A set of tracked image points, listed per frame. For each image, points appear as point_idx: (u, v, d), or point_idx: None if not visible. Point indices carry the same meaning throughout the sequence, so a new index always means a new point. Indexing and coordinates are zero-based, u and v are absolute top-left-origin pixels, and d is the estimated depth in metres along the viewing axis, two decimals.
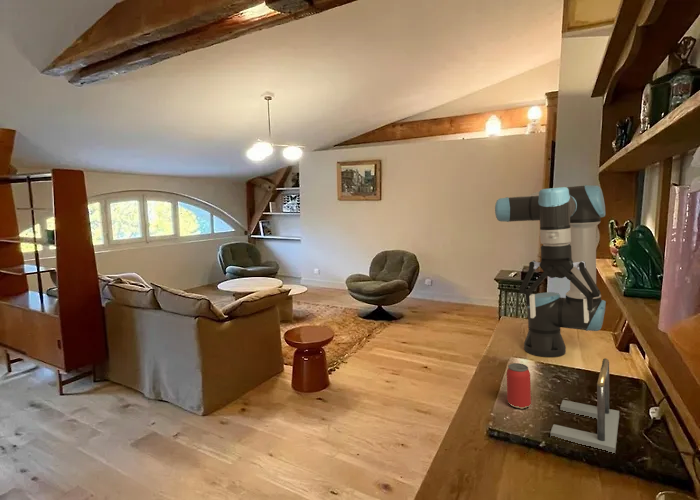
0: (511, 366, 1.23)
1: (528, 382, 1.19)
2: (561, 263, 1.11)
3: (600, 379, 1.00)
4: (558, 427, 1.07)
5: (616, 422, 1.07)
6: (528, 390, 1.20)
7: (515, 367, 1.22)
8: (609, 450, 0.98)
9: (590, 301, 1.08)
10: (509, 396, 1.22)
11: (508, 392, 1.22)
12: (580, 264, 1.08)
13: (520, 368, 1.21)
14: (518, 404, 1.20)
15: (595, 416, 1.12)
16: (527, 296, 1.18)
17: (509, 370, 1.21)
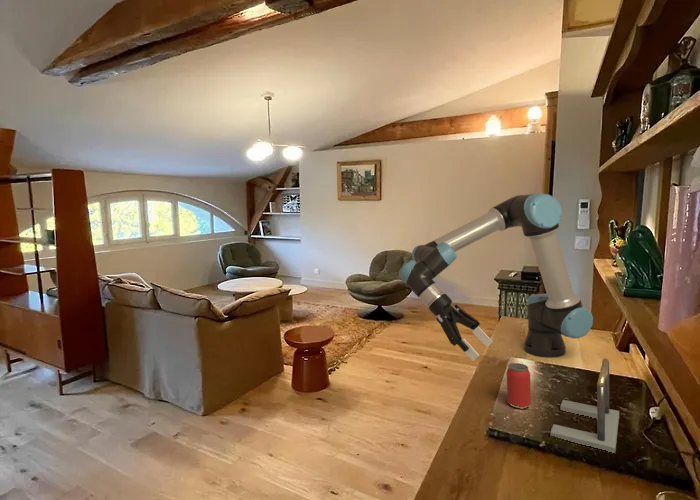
0: (511, 366, 1.23)
1: (528, 382, 1.19)
2: None
3: (600, 379, 1.00)
4: (558, 427, 1.07)
5: (616, 422, 1.07)
6: (528, 390, 1.20)
7: (515, 367, 1.22)
8: (609, 450, 0.98)
9: None
10: (509, 396, 1.22)
11: (508, 392, 1.22)
12: None
13: (520, 368, 1.21)
14: (518, 404, 1.20)
15: (595, 416, 1.12)
16: None
17: (509, 370, 1.21)
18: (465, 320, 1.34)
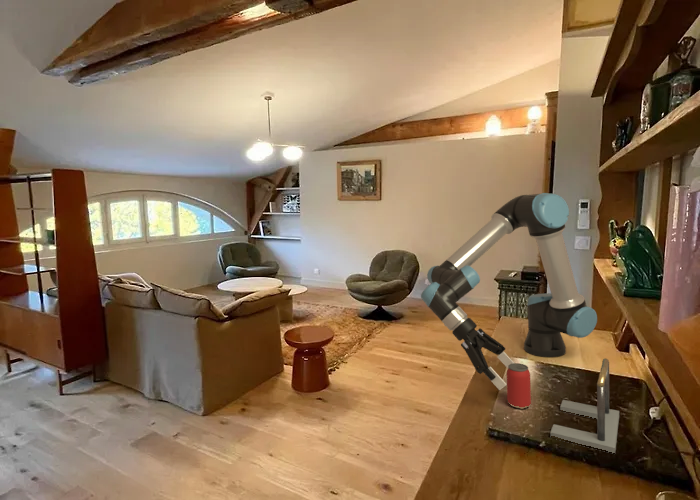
0: (511, 366, 1.23)
1: (528, 382, 1.19)
2: None
3: (600, 379, 1.00)
4: (558, 427, 1.07)
5: (616, 422, 1.07)
6: (528, 390, 1.20)
7: (515, 367, 1.22)
8: (609, 450, 0.98)
9: None
10: (509, 396, 1.22)
11: (508, 392, 1.22)
12: None
13: (520, 368, 1.21)
14: (518, 404, 1.20)
15: (595, 416, 1.12)
16: None
17: (509, 370, 1.21)
18: (490, 345, 1.29)
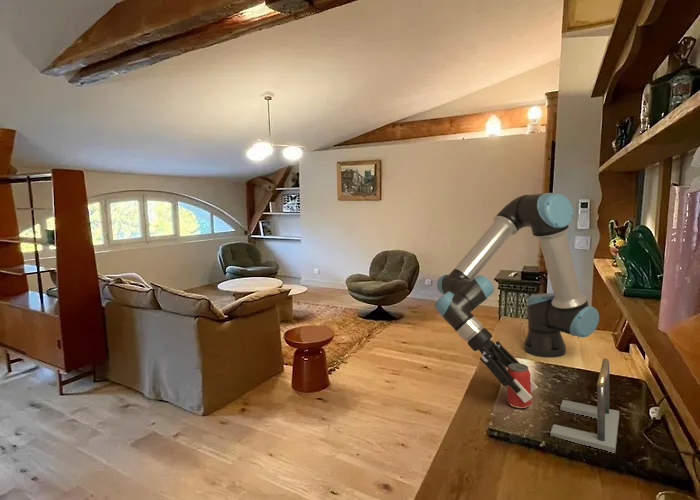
0: (511, 366, 1.23)
1: (528, 382, 1.19)
2: None
3: (600, 379, 1.00)
4: (558, 427, 1.07)
5: (616, 422, 1.07)
6: (528, 390, 1.20)
7: (515, 367, 1.22)
8: (609, 450, 0.98)
9: None
10: (509, 396, 1.22)
11: (508, 392, 1.22)
12: None
13: (520, 368, 1.21)
14: (518, 404, 1.20)
15: (595, 416, 1.12)
16: None
17: (509, 370, 1.21)
18: (506, 359, 1.26)
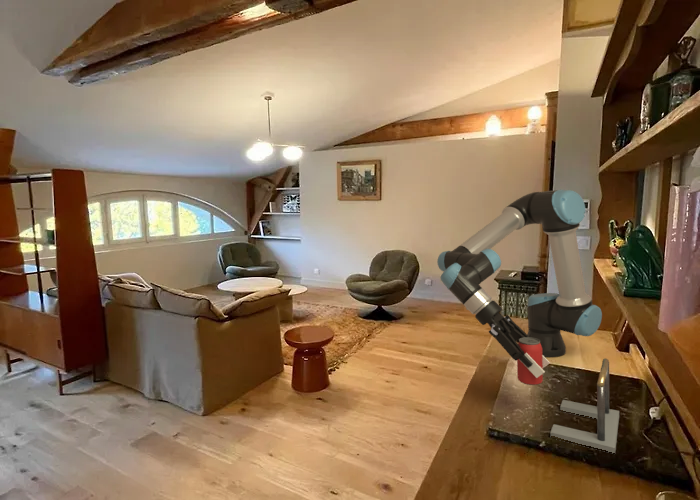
0: (522, 340, 1.16)
1: (540, 356, 1.12)
2: None
3: (600, 379, 1.00)
4: (558, 427, 1.07)
5: (616, 422, 1.07)
6: (540, 365, 1.12)
7: (526, 341, 1.15)
8: (609, 450, 0.98)
9: None
10: (519, 371, 1.15)
11: (518, 367, 1.15)
12: None
13: (531, 342, 1.14)
14: (529, 380, 1.13)
15: (595, 416, 1.12)
16: None
17: (520, 344, 1.14)
18: (516, 334, 1.19)
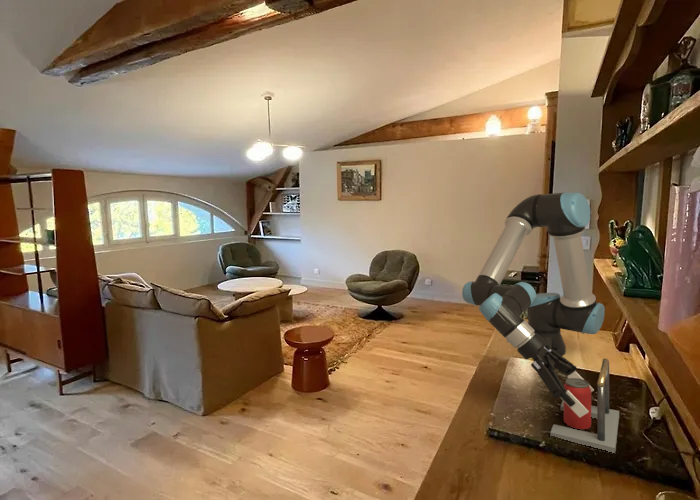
0: (569, 381, 1.10)
1: (589, 400, 1.07)
2: None
3: (600, 379, 1.00)
4: (558, 427, 1.07)
5: (616, 422, 1.07)
6: (589, 409, 1.07)
7: (573, 383, 1.09)
8: (609, 450, 0.98)
9: None
10: (567, 415, 1.09)
11: (565, 410, 1.10)
12: None
13: (580, 384, 1.08)
14: (578, 424, 1.07)
15: (595, 416, 1.12)
16: None
17: (567, 386, 1.09)
18: (560, 364, 1.15)
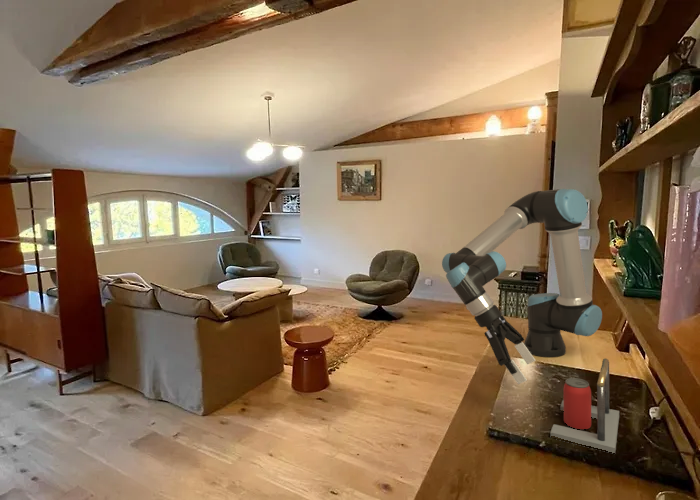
0: (569, 381, 1.10)
1: (589, 400, 1.07)
2: None
3: (600, 379, 1.00)
4: (558, 427, 1.07)
5: (616, 422, 1.07)
6: (589, 409, 1.07)
7: (573, 382, 1.09)
8: (609, 450, 0.98)
9: None
10: (567, 415, 1.09)
11: (565, 410, 1.10)
12: None
13: (580, 384, 1.08)
14: (578, 424, 1.07)
15: (595, 416, 1.12)
16: None
17: (567, 386, 1.09)
18: (510, 335, 1.24)
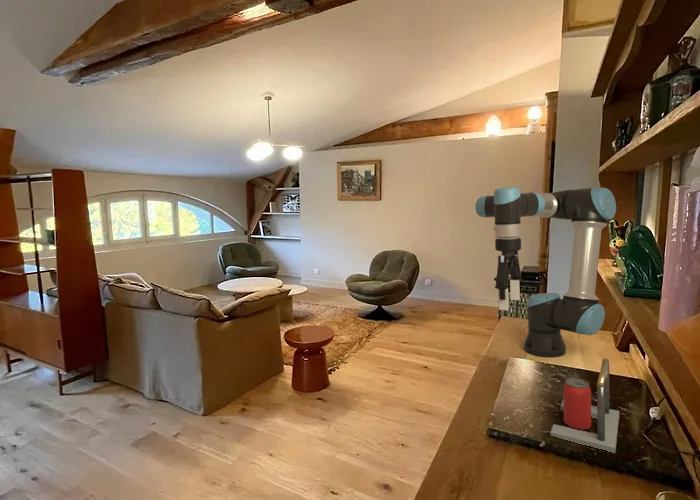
0: (568, 381, 1.10)
1: (589, 400, 1.07)
2: None
3: (600, 379, 1.00)
4: (558, 427, 1.07)
5: (616, 422, 1.07)
6: (589, 409, 1.07)
7: (573, 383, 1.09)
8: (609, 450, 0.98)
9: None
10: (567, 415, 1.09)
11: (565, 410, 1.10)
12: None
13: (579, 384, 1.08)
14: (578, 424, 1.07)
15: (595, 416, 1.12)
16: None
17: (567, 386, 1.09)
18: (514, 269, 1.31)
